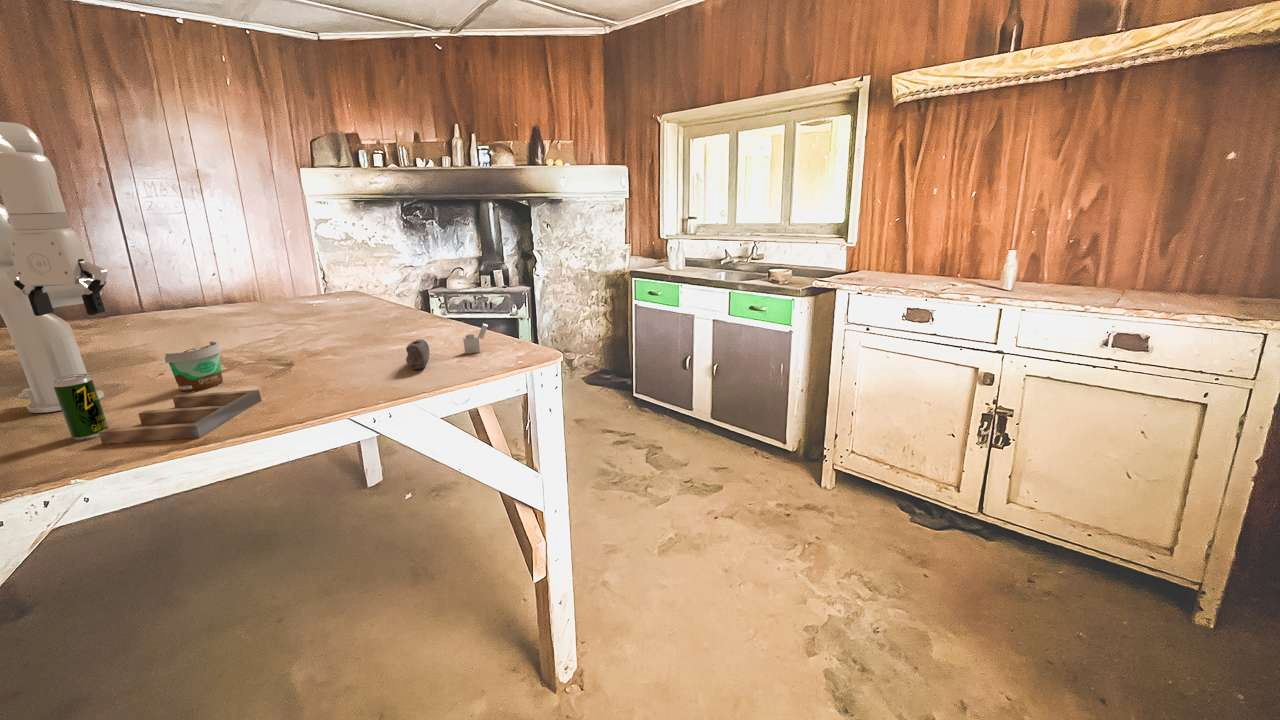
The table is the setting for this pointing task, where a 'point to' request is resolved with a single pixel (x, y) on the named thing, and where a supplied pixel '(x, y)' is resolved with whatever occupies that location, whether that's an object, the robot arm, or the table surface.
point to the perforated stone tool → (417, 354)
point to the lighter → (474, 341)
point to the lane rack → (185, 417)
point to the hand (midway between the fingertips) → (70, 313)
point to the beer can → (80, 406)
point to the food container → (196, 368)
